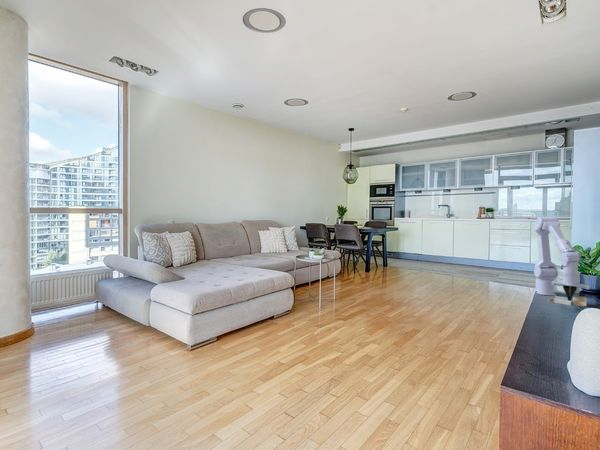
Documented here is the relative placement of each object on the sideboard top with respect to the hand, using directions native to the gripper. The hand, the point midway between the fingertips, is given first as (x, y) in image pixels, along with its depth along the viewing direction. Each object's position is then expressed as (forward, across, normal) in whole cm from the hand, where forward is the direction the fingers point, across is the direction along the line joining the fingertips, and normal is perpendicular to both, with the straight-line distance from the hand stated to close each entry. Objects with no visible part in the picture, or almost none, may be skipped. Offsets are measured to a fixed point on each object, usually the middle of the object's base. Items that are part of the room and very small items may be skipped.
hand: (569, 300), depth 159 cm
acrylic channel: (+1, -3, 0) cm, 3 cm away
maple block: (+1, +4, 0) cm, 4 cm away
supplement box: (+2, -2, +29) cm, 29 cm away
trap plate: (+1, -7, 0) cm, 7 cm away
